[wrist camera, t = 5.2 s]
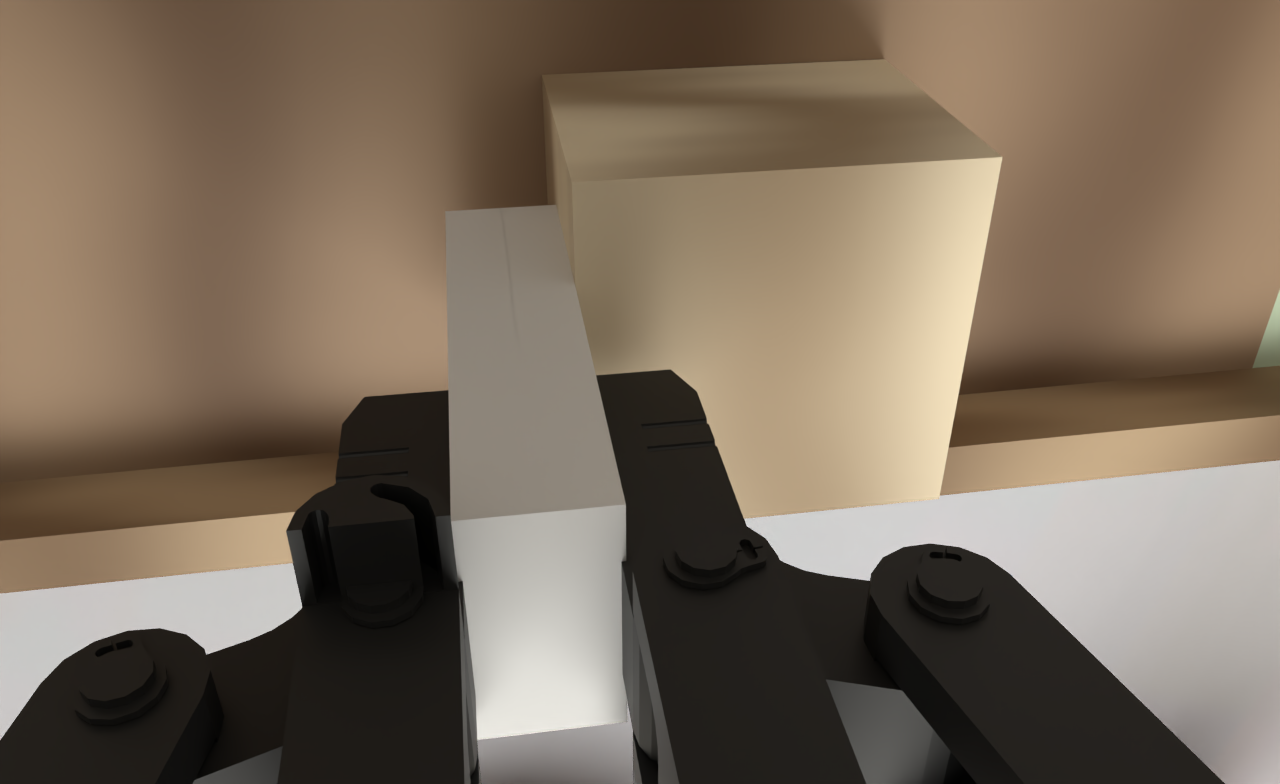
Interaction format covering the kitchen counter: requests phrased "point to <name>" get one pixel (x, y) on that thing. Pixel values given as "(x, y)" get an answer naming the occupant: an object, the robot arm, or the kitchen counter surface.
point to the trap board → (516, 177)
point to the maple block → (781, 262)
